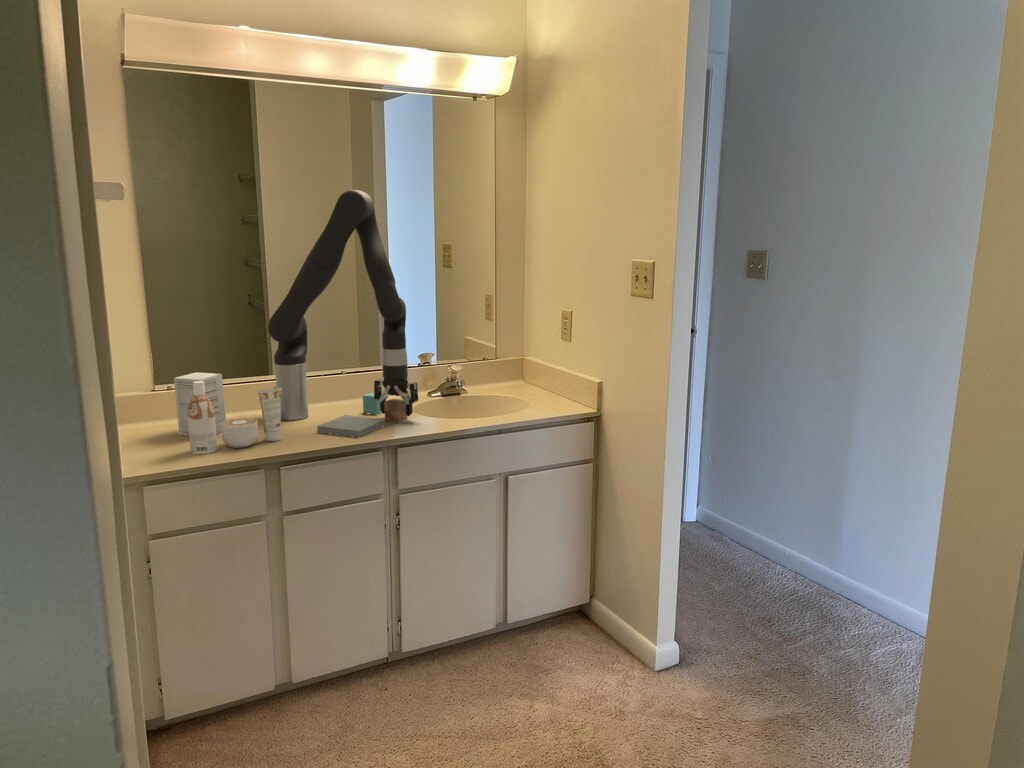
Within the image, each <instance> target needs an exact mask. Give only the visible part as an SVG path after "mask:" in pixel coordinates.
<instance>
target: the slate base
mask: <svg viewBox="0 0 1024 768" xmlns="http://www.w3.org/2000/svg"><path fill="white" fill-rule="evenodd" d="M383 426H384V427H386V421H385V418H384V419H383V418H373V417H367V416H365V417H364V416H357V415H348V414H344V415H342V416H339V417H337V418H334V419H332V420H329V421H327V422H324V423H322V424H319V425H317V427H316V428H317V433H318V432H323V433H322V434H325V433H331V434H330V435H333V434H338V435H337V436H341V435H345V436H344V437H349V436H353V437H352V438H357V437H360V438H361V436H362V437H364V436H366V435H368V434H367V433H369V432H371V433H372V431H373V432H375V431H377V430H380V429H382V428H384V427H383ZM381 427H382V428H381ZM379 428H380V429H379ZM376 429H377V430H376ZM374 430H375V431H374ZM365 434H366V435H365ZM369 434H370V433H369ZM363 435H364V436H363Z"/></svg>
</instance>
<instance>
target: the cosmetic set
mask: <svg viewBox="0 0 1024 768" xmlns="http://www.w3.org/2000/svg"><path fill="white" fill-rule="evenodd" d="M193 391H194V395H193V397H192V399H191V400H190V402H189V405H188V409H187V415H188V426H189V436H188V438H189V449H190V453H191V454H193V455H199V454H201V455H210V454H212V453H215V452H216V451H217V450H218V441H217V434H216V426H215V413H214V407H213V404H212V402H211V401H210V399H209V398H208V397H207V396H206V394H205V385H204V381H194V382H193ZM281 393H282V388H277V389H273V388H269V389H262V390H257V395H258V397H259V402H260V406H261V407H260V409H261V415H262V422H263V435H264V440H265V441H267V442H270V441H273V442H278V441H280V440H281V439H282V426H281V425H282V423H281ZM221 429H222V432H221V437H222V440H223V442H224V444H226V445H227V446H228V447H231V448H235V449H236V448H238V449H240V448H241V447H242V448H247V447H249V446H252V445H253V444H255V443H256V442H257V440H258V438H259V423H258V420H257V419H255V418H251V417H240V418H231V419H226V421H224V422H222V423H221ZM242 448H241V449H242Z"/></svg>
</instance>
